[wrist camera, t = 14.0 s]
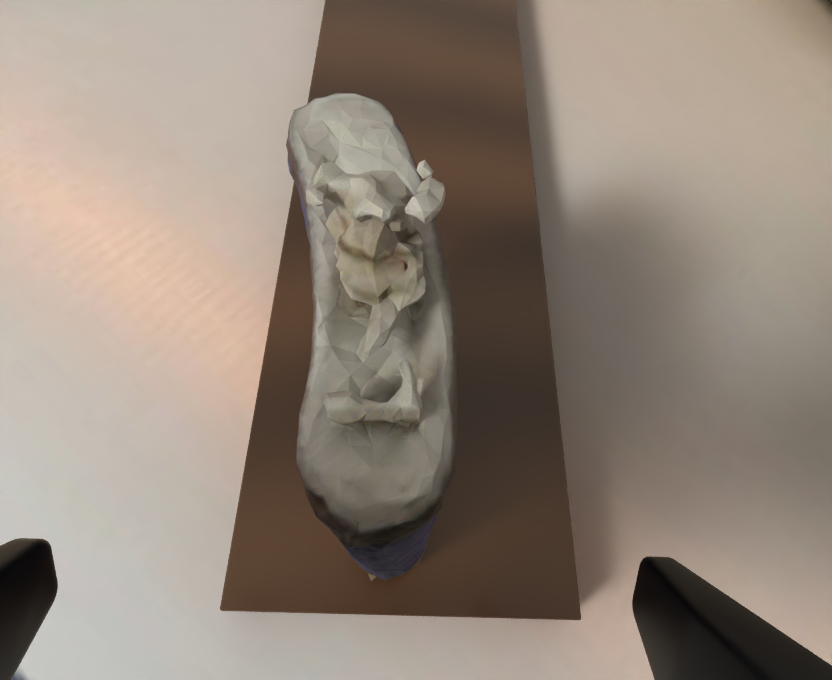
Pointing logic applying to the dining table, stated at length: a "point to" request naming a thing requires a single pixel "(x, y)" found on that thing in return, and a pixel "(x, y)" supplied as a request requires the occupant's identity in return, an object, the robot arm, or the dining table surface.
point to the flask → (374, 334)
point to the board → (476, 333)
